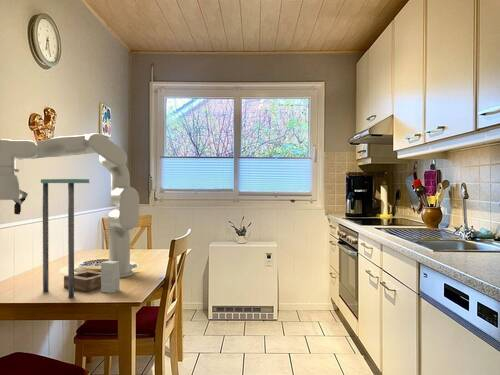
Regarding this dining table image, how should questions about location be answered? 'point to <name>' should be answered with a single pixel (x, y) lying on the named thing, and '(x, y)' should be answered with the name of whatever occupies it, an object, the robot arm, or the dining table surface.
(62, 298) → the dining table surface
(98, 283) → the brown shallow box
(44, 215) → the two-post crossbar frame
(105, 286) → the skincare box
